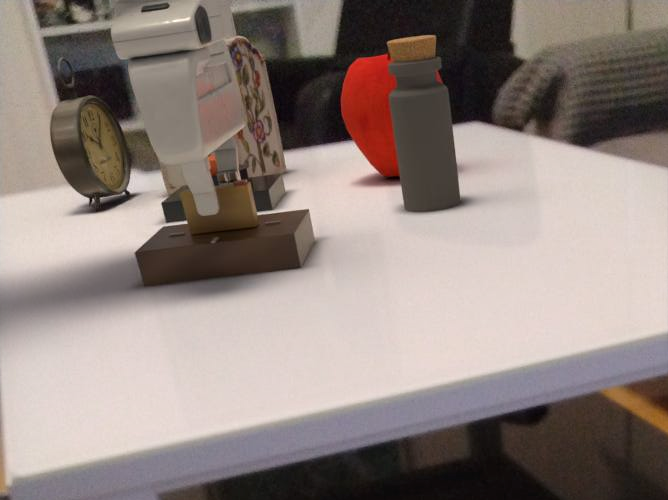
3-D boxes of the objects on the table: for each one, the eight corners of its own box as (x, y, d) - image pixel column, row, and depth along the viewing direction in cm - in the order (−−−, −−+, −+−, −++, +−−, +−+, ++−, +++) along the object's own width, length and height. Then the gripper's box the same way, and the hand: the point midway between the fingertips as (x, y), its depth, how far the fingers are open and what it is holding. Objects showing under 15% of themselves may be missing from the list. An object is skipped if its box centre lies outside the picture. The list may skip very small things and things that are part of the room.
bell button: (201, 178, 113) (197, 161, 112) (207, 173, 116) (203, 156, 115) (232, 175, 113) (229, 157, 112) (238, 169, 116) (235, 152, 115)
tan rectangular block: (190, 235, 91) (178, 190, 89) (194, 230, 92) (183, 186, 90) (256, 227, 91) (246, 181, 89) (259, 223, 92) (249, 178, 90)
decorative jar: (165, 197, 127) (121, 31, 117) (211, 177, 136) (174, 21, 126) (249, 192, 124) (211, 20, 114) (291, 172, 133) (259, 11, 123)
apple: (349, 193, 116) (327, 59, 109) (358, 174, 126) (338, 50, 118) (453, 180, 116) (437, 45, 108) (453, 162, 125) (439, 37, 118)
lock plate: (144, 287, 89) (133, 250, 88) (171, 259, 98) (162, 224, 96) (301, 269, 89) (293, 231, 87) (315, 241, 97) (308, 206, 95)
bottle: (395, 214, 103) (370, 44, 95) (417, 201, 108) (395, 37, 100) (449, 212, 102) (429, 38, 93) (468, 198, 106) (450, 32, 98)
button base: (166, 223, 113) (156, 185, 111) (186, 205, 121) (177, 169, 119) (272, 210, 112) (264, 171, 110) (286, 193, 121) (278, 156, 118)
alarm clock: (105, 213, 123) (59, 59, 114) (65, 217, 124) (16, 65, 115) (143, 194, 132) (104, 50, 122) (105, 197, 133) (63, 55, 124)
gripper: (170, 19, 91) (211, 184, 99) (102, 35, 74) (158, 232, 82) (239, 9, 91) (275, 176, 99) (187, 22, 74) (235, 222, 82)
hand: (222, 202), depth 90 cm, fingers open, 8 cm apart
